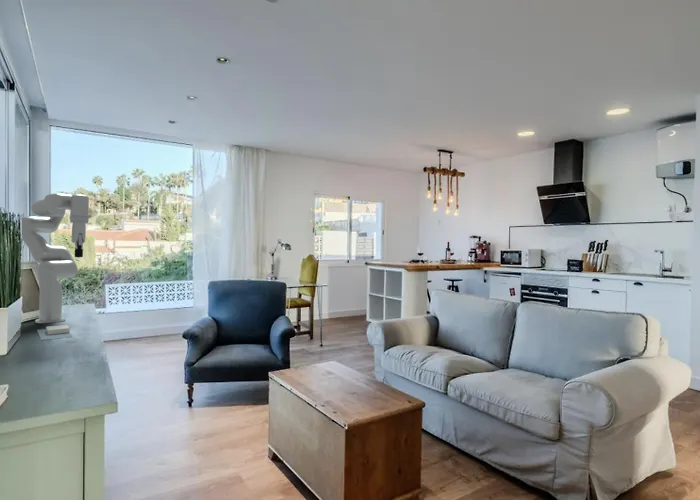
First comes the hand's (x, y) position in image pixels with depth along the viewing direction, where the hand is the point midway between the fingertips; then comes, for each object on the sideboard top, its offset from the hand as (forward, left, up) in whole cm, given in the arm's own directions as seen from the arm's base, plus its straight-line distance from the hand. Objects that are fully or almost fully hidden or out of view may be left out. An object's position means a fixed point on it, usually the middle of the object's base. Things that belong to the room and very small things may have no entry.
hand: (78, 257), depth 203 cm
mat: (+13, -11, -34) cm, 38 cm away
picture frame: (+7, -9, -33) cm, 35 cm away
